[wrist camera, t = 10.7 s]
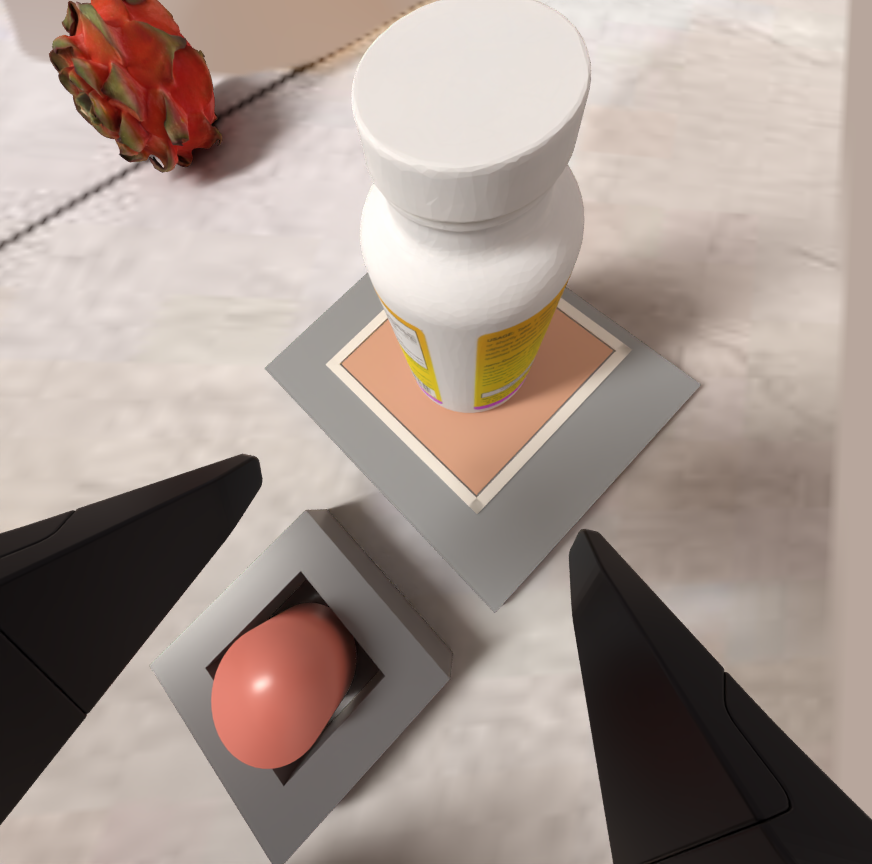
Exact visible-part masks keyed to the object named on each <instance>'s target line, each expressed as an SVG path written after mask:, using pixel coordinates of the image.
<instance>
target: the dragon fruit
mask: <svg viewBox="0 0 872 864" xmlns="http://www.w3.org/2000/svg"><path fill="white" fill-rule="evenodd" d="M62 25H63V26H64V28H65V29H66V31H67V32H68V33H70V36H66V35H63V36H59V37H57V38H56V39H55V40H54V41H53V46H52V47H53V50H52V51H51V52H50V53H49V57H50V61H51V62H52V64H53V66H54V68H55V69H56V70H57V71H58V73H59V75H58V76H59V80H60V82H61V84H62V85H63V86H64V88H65V89H66V90H67V91H68V92H69V93H71V94H72V95H73V100H74V104H75V106H76V110H77V111H78V112H79V113H80V114H81V116H82V117H83V118H84V119H85V120H86V121H87V122H88V123H90V124H91V125H92V126H93V127H94V128H95V129H96V130H97V131H98V132H99V133H100V134H101V135H103V136H104V137H106V138H110V139H115V141H116V143H117V145H118V147H119V149H120V154H119V155H120V156H121V157H122V158H123V159H125V160H126V161H128V162H141V161H146V160H147V159H148V157H149V155H151V154H152V155H155V156H156V157H158V158H159V159H160V160H161V161H162V163H163V165H164V168H163V167H162V166H161V165H160V163H159V162H158V161H157V160H156V159H155V158H154V157H153V159H152V158H151V157H149V158H150V161H151V163H152V164H153V166H154V168H155V169H157V170H159V171H160V172H169V171H171V170H173V169H174V167H175V165H176V164H178V165H180V166H182V167H188V166H189V165H191V163H192V160H193V156H192V150H193V149H195V148H206V149H209V148H210V147H211V146H212V145H213V144H214V143H216V142H217V141H218V140H219V144H218V146H219V145H220V144H221V142H222V135H221V133H220V132H219V131H218V129H217V128H216V127H215V126H212V125H211V124H212V123H213V122H214V121H215V120H217V119H218V118H217V115H216V114H215V112H214V107H215V100H214V93H213V84H212V79H211V75H210V72H209V69H208V68H207V65H206V61H205V59H204V57H205V56H204V54H203V53H202V51H201V50H200V51H199V52H198V50H195V49H194V48H192V47H191V46H190V44H189V43H188V41H187V40H186V39H185V38H184V37H183V36H182V34H180V30H179V26H178V25H177V24H176V23H175V21H174V19H173V16H172V14H171V13H170V12H169V11H168V10H167V9H166V8H165V7H164V6H163V5H161V3H160V2H159V1H157V0H91V3H82V4H81V3H79V2H76V4H75V3H74V2H72V1H69V2H68V9H67V15H66V17H65V20H64V21H63V22H62Z"/></svg>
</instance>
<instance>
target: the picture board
mask: <svg viewBox="0 0 872 864" xmlns="http://www.w3.org/2000/svg"><path fill="white" fill-rule="evenodd" d="M265 369H266V371H267V372H268V373H269V374H270V375H271V376H272V377H273V378H274V379H275V380H276V381H277V382H278V383H279V384H280V385H281V386H282V388H283V389H284V390H285V391H286V392H287V393H288V394H289V395H290V396H291V397H292V398H293V399H294V400H295V401H296V402H297V403H298V405H299V406H300V407H301V408H302V409H303V410H304V411H305V412H306V413H307V414H308V415H309V416H310V417H311V418H312V419H313V420H314V422H315V423H316V424H317V425H318V426H319V427H320V428H321V429H322V430H323V431H324V432H325V433H326V434H327V435H328V436H329V437H330V439H331V440H332V441H333V442H334V443H335V444H336V445H337V446H338V447H339V448H340V449H341V450H342V451H343V452H344V453H345V454H346V456H347V457H348V458H349V459H350V460H351V461H352V462H353V463H354V464H355V465H356V466H357V467H358V468H359V469H360V470H361V471H362V473H363V474H364V475H365V476H366V477H367V478H368V479H369V480H370V481H371V482H372V483H373V484H374V485H375V486H376V487H377V488H378V490H379V491H380V492H381V493H382V494H383V495H384V496H385V497H386V498H387V499H388V500H389V501H390V502H391V503H392V504H393V505H394V507H395V508H396V509H397V510H398V511H399V512H400V513H401V514H402V515H403V516H404V517H405V518H406V519H407V520H408V521H409V522H410V524H411V525H412V526H413V527H414V528H415V529H416V530H417V531H418V532H419V533H420V534H421V535H422V536H423V537H424V538H425V539H426V541H427V542H428V543H429V544H430V545H431V546H432V547H433V548H434V549H435V550H436V551H437V552H438V553H439V554H440V555H441V556H442V558H443V559H444V560H445V561H446V562H447V563H448V564H449V565H450V566H451V567H452V568H453V569H454V570H455V571H456V572H457V573H458V575H459V576H460V577H461V578H462V579H463V580H464V581H465V582H466V583H467V584H468V585H469V586H470V587H471V588H472V589H473V590H474V592H475V593H476V594H477V595H478V596H479V597H480V598H481V599H482V600H483V601H484V602H485V603H486V604H487V605H488V606H489V607H490V609H491V610H492V611H493V612H494V613H495V612H496V611H497V610H498V609H499V608H500V607H501V606H502V605H503V604H504V602H505V601H506V600H507V599H508V598H509V597H510V596H511V595H512V594H513V592H514V591H515V590H516V589H517V588H518V587H519V586H520V585H521V584H522V582H523V581H524V580H525V579H526V578H527V577H528V576H529V575H530V574H531V573H532V571H533V570H534V569H535V568H536V567H537V566H538V565H539V564H540V563H541V561H542V560H543V559H544V558H545V557H546V556H547V555H548V554H549V553H550V551H551V550H552V549H553V548H554V547H555V546H556V545H557V544H558V543H559V542H560V540H561V539H562V538H563V537H564V536H565V535H566V534H567V533H568V532H569V530H570V529H571V528H572V527H573V526H574V525H575V524H576V523H577V522H578V520H579V519H580V518H581V517H582V516H583V515H584V514H585V513H586V512H587V511H588V509H589V508H590V507H591V506H592V505H593V504H594V503H595V502H596V501H597V499H598V498H599V497H600V496H601V495H602V494H603V493H604V492H605V491H606V489H607V488H608V487H609V486H610V485H611V484H612V483H613V482H614V481H615V480H616V478H617V477H618V476H619V475H620V474H621V473H622V472H623V471H624V470H625V468H626V467H627V466H628V465H629V464H630V463H631V462H632V461H633V460H634V458H635V457H636V456H637V455H638V454H639V453H640V452H641V451H642V450H643V448H644V447H645V446H646V445H647V444H648V443H649V442H650V441H651V440H652V439H653V437H654V436H655V435H656V434H657V433H658V432H659V431H660V430H661V429H662V427H663V426H664V425H665V424H666V423H667V422H668V421H669V420H670V419H671V417H672V416H673V415H674V414H675V413H676V412H677V411H678V410H679V409H680V408H681V406H682V405H683V404H684V403H685V402H686V401H687V400H688V399H689V398H690V396H691V395H692V394H693V393H694V392H695V391H696V390H697V389H698V388H699V386H700V385H701V384H700V383H698V382H697V381H696V380H694V379H693V378H692V377H690V376H689V375H687V374H686V373H685V372H683V371H682V370H680V369H679V368H678V367H676V366H675V365H673V364H672V363H671V362H669V361H668V360H667V359H665V358H664V357H662V356H661V355H660V354H658V353H657V352H655V351H654V350H653V349H651V348H650V347H648V346H647V345H646V344H644V343H643V342H642V341H640V340H639V339H637V338H636V337H635V336H633V335H632V334H630V333H629V332H628V331H626V330H625V329H623V328H622V327H621V326H619V325H618V324H617V323H615V322H614V321H612V320H611V319H610V318H608V317H607V316H605V315H604V314H603V313H601V312H600V311H598V310H597V309H596V308H594V307H593V306H592V305H590V304H589V303H587V302H586V301H585V300H583V299H582V298H580V297H579V296H578V295H576V294H575V293H573V292H572V291H571V290H569V289H568V288H566V287H565V289H564V291H563V294H562V296H561V298H560V301H559V303H558V305H557V308H556V310H555V312H554V315H553V317H552V319H551V322H550V324H549V327H548V329H547V331H546V333H545V336H544V338H543V340H542V342H541V345H540V347H539V350H538V352H537V354H536V357H535V359H534V361H533V363H532V366H531V368H530V370H529V373H528V375H527V377H526V379H525V381H524V383H523V384H522V386H521V387H520V388H519V390H518V391H517V392H516V393H515V394H514V395H513V396H512V397H511V398H510V399H509V400H507V401H506V402H504V403H503V404H501V405H499V406H497V407H495V408H493V409H490V410H487V411H483V412H476V413H462V412H456V411H452V410H449V409H446V408H444V407H442V406H440V405H438V404H437V403H435V402H434V401H432V400H431V399H430V398H429V397H428V396H427V395H426V394H425V393H424V392H423V391H422V389H421V388H420V387H419V385H418V383H417V381H416V380H415V378H414V376H413V374H412V371H411V369H410V367H409V365H408V362H407V360H406V358H405V355H404V353H403V351H402V349H401V347H400V344H399V342H398V340H397V338H396V335H395V333H394V331H393V328H392V326H391V324H390V321H389V319H388V317H387V315H386V313H385V311H384V308H383V306H382V304H381V302H380V299H379V297H378V295H377V293H376V291H375V289H374V286H373V284H372V282H371V279H370V277H369V274H368V273H367V274H365V275H364V276H363V277H362V278H361V279H360V280H359V281H358V282H357V283H356V284H355V285H354V286H353V287H351V288H350V289H349V290H348V291H347V292H346V293H345V294H344V295H343V296H342V297H341V298H340V299H339V300H337V301H336V302H335V303H334V304H333V305H332V306H331V307H330V308H329V309H328V310H327V311H326V312H325V313H323V314H322V315H321V316H320V317H319V318H318V319H317V320H316V321H315V322H314V323H313V324H312V325H311V326H309V327H308V328H307V329H306V330H305V331H304V332H303V333H302V334H301V335H300V336H299V337H298V338H297V339H295V340H294V341H293V342H292V343H291V344H290V345H289V346H288V347H287V348H286V349H285V350H284V351H283V352H281V353H280V354H279V355H278V356H277V357H276V358H275V359H274V360H273V361H272V362H271V363H270V364H269V365H267V366H266V367H265Z"/></svg>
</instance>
